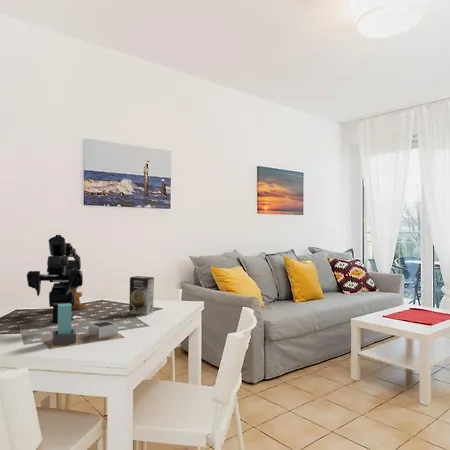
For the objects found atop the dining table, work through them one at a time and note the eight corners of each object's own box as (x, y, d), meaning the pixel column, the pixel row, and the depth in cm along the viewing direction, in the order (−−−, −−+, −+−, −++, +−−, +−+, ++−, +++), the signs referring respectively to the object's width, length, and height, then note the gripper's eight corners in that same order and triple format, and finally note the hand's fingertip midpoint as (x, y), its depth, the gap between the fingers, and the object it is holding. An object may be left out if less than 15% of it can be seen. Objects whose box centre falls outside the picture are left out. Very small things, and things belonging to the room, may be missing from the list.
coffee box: (128, 313, 174) (129, 277, 174) (136, 310, 180) (136, 275, 180) (147, 315, 171) (147, 278, 171) (153, 312, 177) (154, 276, 178)
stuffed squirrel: (88, 307, 186) (88, 279, 186) (66, 313, 173) (66, 283, 173) (71, 305, 190) (71, 278, 190) (48, 311, 177) (49, 282, 177)
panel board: (49, 351, 121) (49, 349, 121) (42, 341, 131) (42, 339, 131) (124, 339, 135) (124, 337, 135) (113, 331, 145) (113, 329, 145)
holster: (52, 339, 131) (53, 330, 131) (74, 337, 134) (74, 328, 134) (53, 345, 125) (53, 335, 125) (75, 343, 128) (76, 333, 128)
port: (88, 335, 136) (88, 324, 136) (107, 331, 142) (107, 320, 142) (98, 339, 131) (98, 327, 131) (117, 335, 137) (118, 324, 137)
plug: (57, 340, 130) (57, 304, 130) (70, 338, 132) (71, 303, 132) (57, 343, 126) (57, 306, 127) (71, 342, 128) (71, 305, 128)
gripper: (29, 249, 144) (20, 278, 132) (83, 249, 149) (79, 277, 137) (32, 272, 151) (24, 301, 138) (84, 271, 155) (80, 300, 143)
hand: (52, 294), depth 139 cm, fingers open, 9 cm apart
